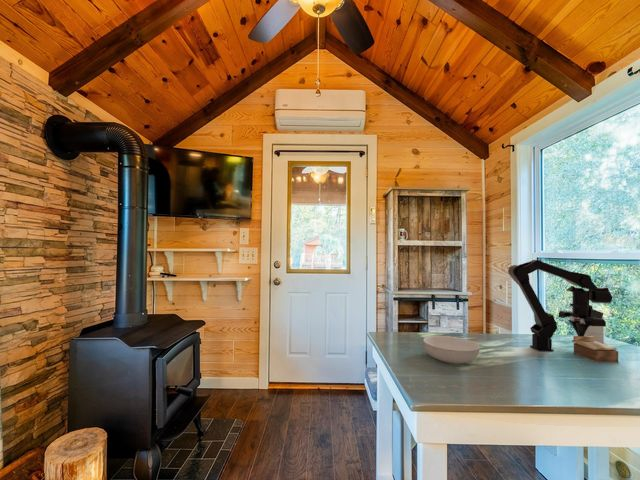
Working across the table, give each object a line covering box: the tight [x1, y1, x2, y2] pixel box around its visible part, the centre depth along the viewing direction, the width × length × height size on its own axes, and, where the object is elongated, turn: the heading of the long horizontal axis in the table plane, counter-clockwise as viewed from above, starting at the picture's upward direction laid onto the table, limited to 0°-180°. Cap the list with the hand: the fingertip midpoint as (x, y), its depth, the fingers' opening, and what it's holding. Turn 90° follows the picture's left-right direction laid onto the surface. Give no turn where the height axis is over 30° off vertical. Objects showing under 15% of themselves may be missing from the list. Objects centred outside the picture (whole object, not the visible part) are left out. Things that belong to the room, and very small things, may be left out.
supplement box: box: [578, 316, 605, 344], centre depth 158 cm, size 7×7×13 cm
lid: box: [572, 335, 618, 351], centre depth 134 cm, size 9×11×2 cm
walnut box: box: [573, 342, 619, 363], centre depth 133 cm, size 9×11×4 cm
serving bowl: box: [422, 335, 481, 364], centre depth 128 cm, size 21×21×7 cm
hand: (580, 338), depth 140 cm, fingers closed
